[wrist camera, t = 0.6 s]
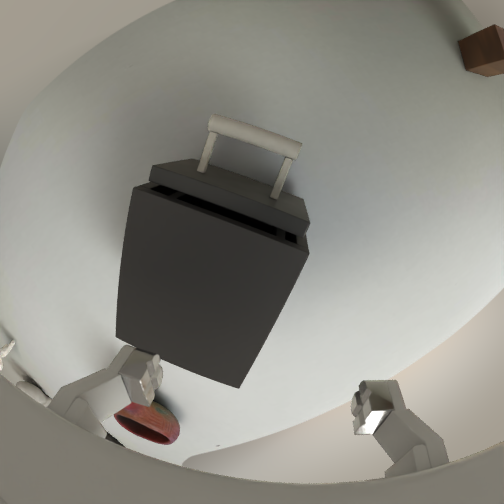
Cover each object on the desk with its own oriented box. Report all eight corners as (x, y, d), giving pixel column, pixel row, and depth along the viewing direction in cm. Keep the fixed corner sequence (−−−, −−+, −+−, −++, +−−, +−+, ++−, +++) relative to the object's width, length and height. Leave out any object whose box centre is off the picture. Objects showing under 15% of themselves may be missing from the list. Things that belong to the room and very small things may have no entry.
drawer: (206, 113, 23) (171, 101, 16) (322, 154, 24) (338, 157, 16) (161, 273, 31) (126, 312, 23) (255, 310, 31) (244, 361, 23)
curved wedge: (119, 452, 61) (117, 456, 60) (92, 428, 57) (90, 432, 55) (136, 456, 59) (135, 460, 58) (109, 433, 55) (107, 437, 53)
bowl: (198, 422, 44) (188, 456, 36) (152, 424, 47) (139, 451, 40) (146, 367, 39) (126, 402, 32) (103, 373, 42) (83, 402, 35)
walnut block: (457, 41, 16) (494, 24, 9) (480, 48, 15) (517, 36, 8) (465, 70, 17) (506, 58, 10) (487, 77, 17) (527, 69, 9)
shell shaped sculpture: (19, 373, 55) (9, 385, 49) (32, 374, 52) (21, 387, 46) (43, 402, 59) (34, 414, 53) (59, 406, 56) (49, 419, 50)
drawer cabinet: (184, 171, 27) (133, 187, 17) (302, 214, 27) (309, 253, 17) (156, 287, 33) (115, 337, 23) (252, 325, 33) (238, 388, 23)
